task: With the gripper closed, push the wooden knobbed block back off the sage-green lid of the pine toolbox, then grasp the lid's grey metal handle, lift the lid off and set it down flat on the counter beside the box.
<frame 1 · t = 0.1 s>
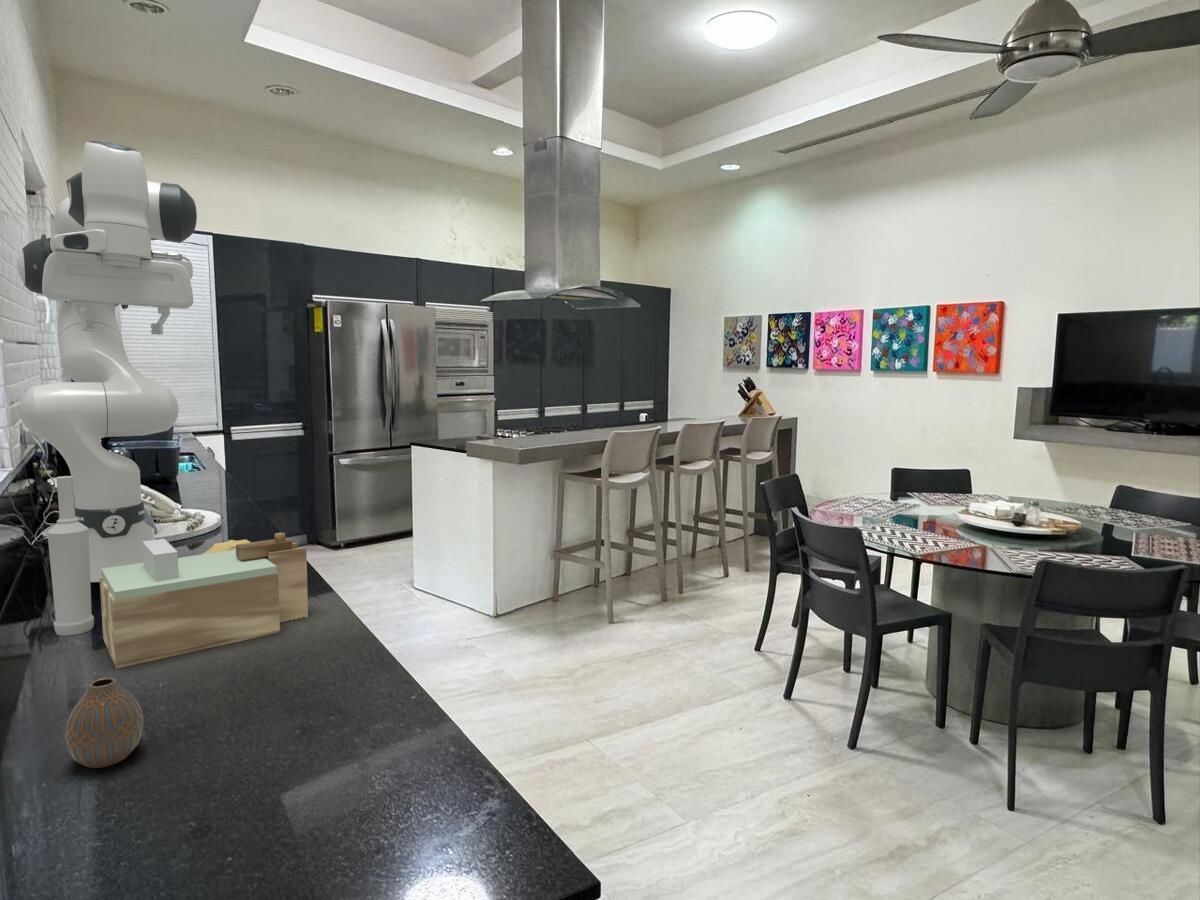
hand: (123, 332, 113), 48 cm above the countertop, fingers open, 8 cm apart
toolbox: (193, 635, 110), on the countertop
lid: (190, 574, 109), point 10 cm above the countertop, touching toolbox
sculpture: (233, 597, 129), on the countertop
vase: (107, 759, 76), on the countertop
wooden knobbed block: (264, 545, 116), point 13 cm above the countertop, slide at 0.0 cm
bottle: (74, 631, 111), on the countertop
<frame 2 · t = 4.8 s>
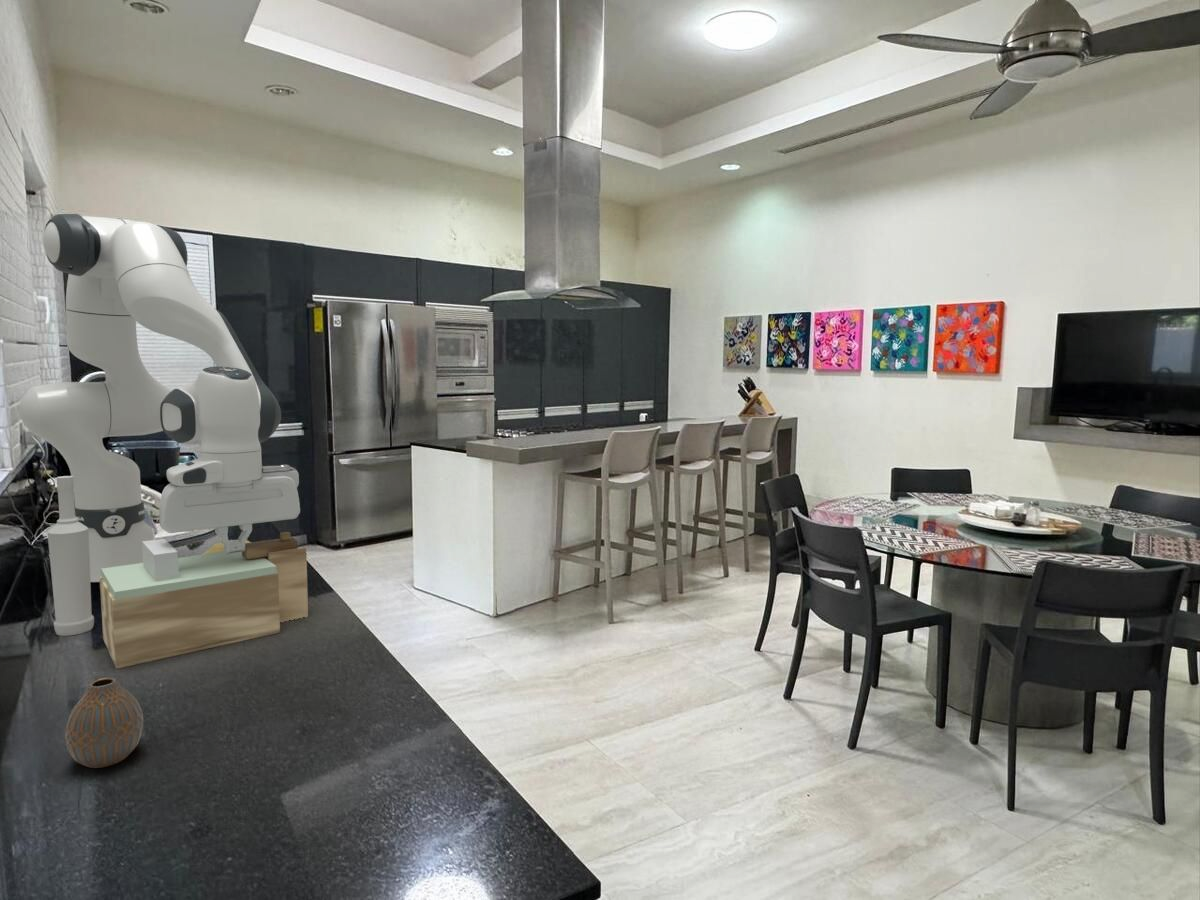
hand: (234, 551, 113), 13 cm above the countertop, fingers closed
wooden knobbed block: (269, 544, 117), point 13 cm above the countertop, slide at 0.9 cm, touching gripper
everything else where it was.
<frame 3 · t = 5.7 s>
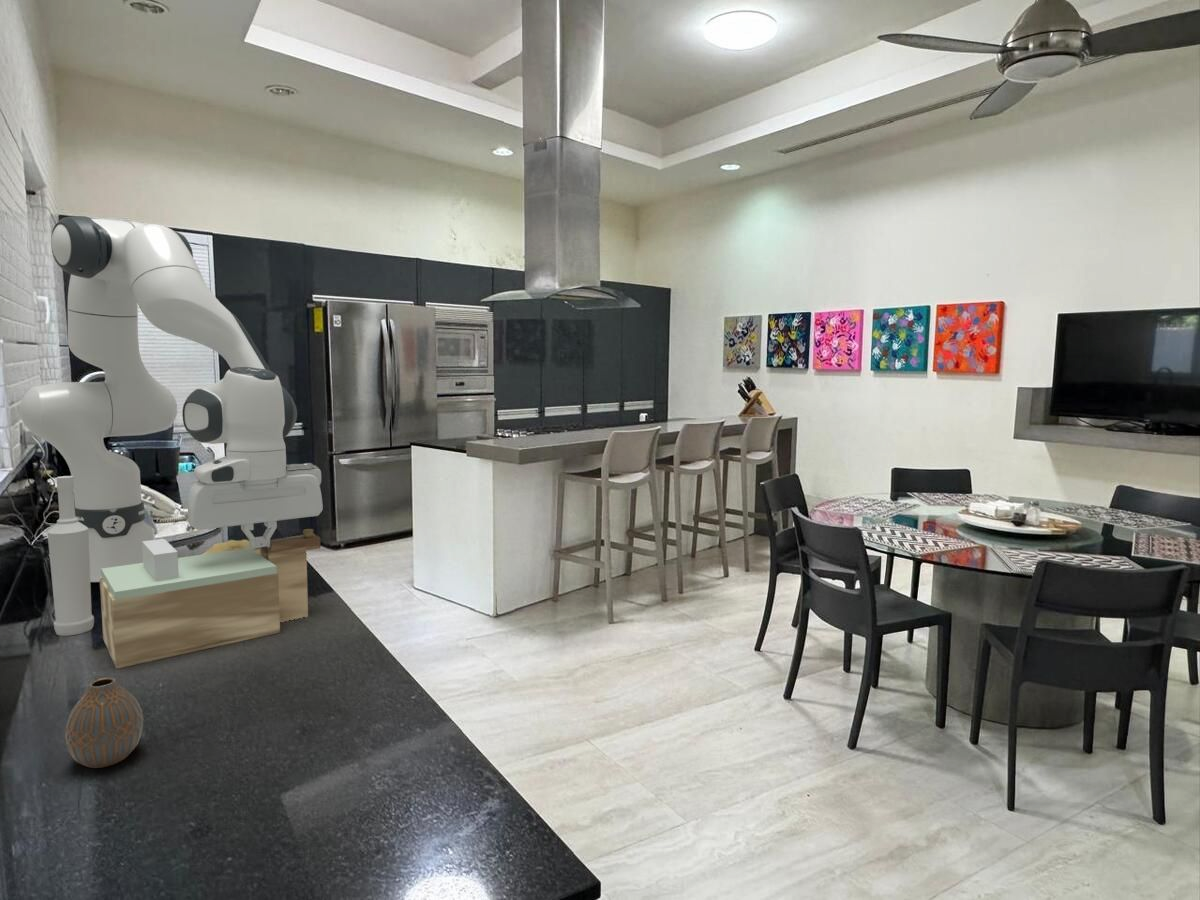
hand: (259, 548, 115), 13 cm above the countertop, fingers closed
wooden knobbed block: (293, 541, 119), point 13 cm above the countertop, slide at 4.7 cm, touching gripper
everything else where it was.
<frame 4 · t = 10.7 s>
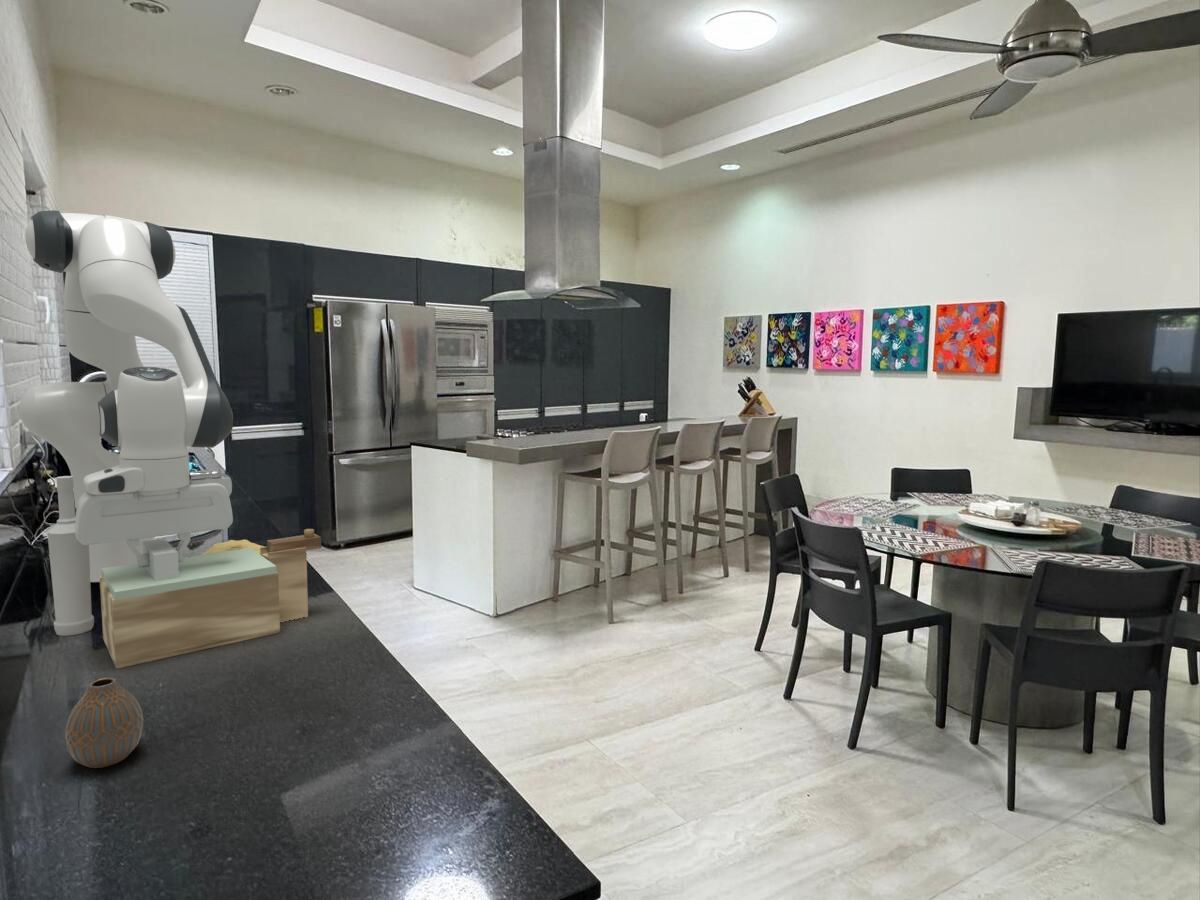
hand: (160, 564, 106), 12 cm above the countertop, fingers closed on lid, 3 cm apart
lid: (190, 574, 109), point 10 cm above the countertop, touching gripper, toolbox
wooden knobbed block: (294, 540, 119), point 13 cm above the countertop, slide at 4.9 cm
everything else where it was.
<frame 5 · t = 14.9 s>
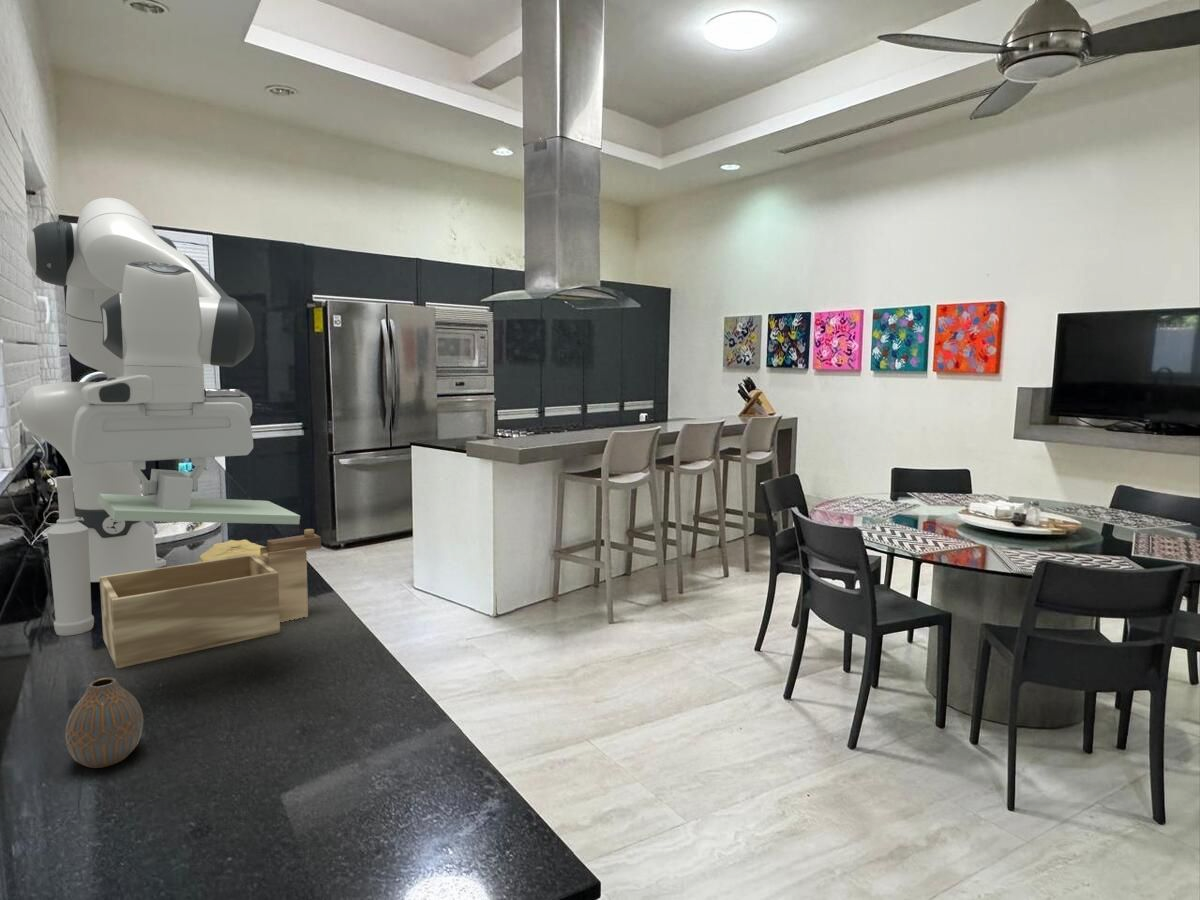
hand: (170, 493, 92), 26 cm above the countertop, fingers closed on lid, 3 cm apart
lid: (200, 513, 94), point 23 cm above the countertop, tilted 9°, touching gripper
everything else where it was.
when the fingers open (4 cm above the countertop, at t = 19.0 s): lid drops 2 cm, on the countertop.
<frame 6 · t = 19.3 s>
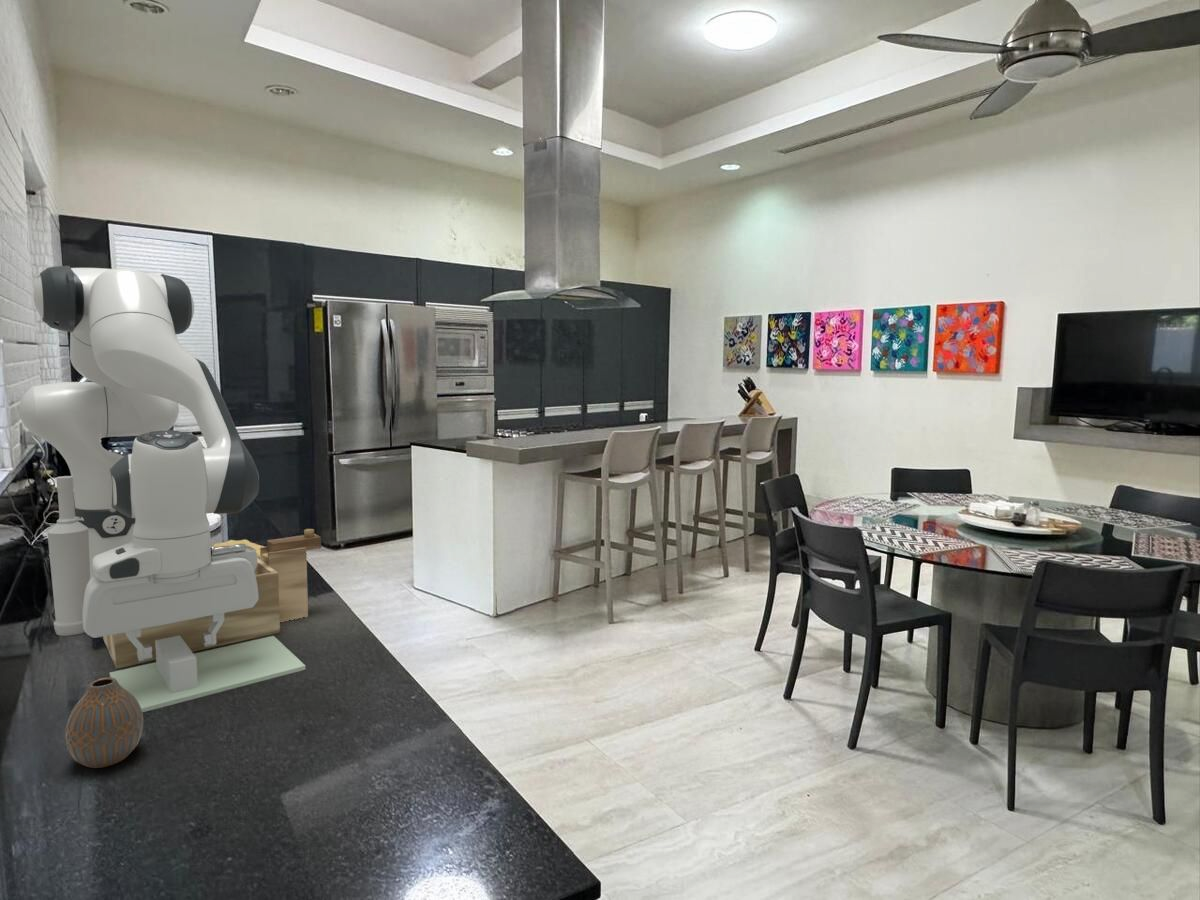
hand: (177, 651, 94), 4 cm above the countertop, fingers open, 6 cm apart
lid: (209, 677, 97), on the countertop
everything else where it was.
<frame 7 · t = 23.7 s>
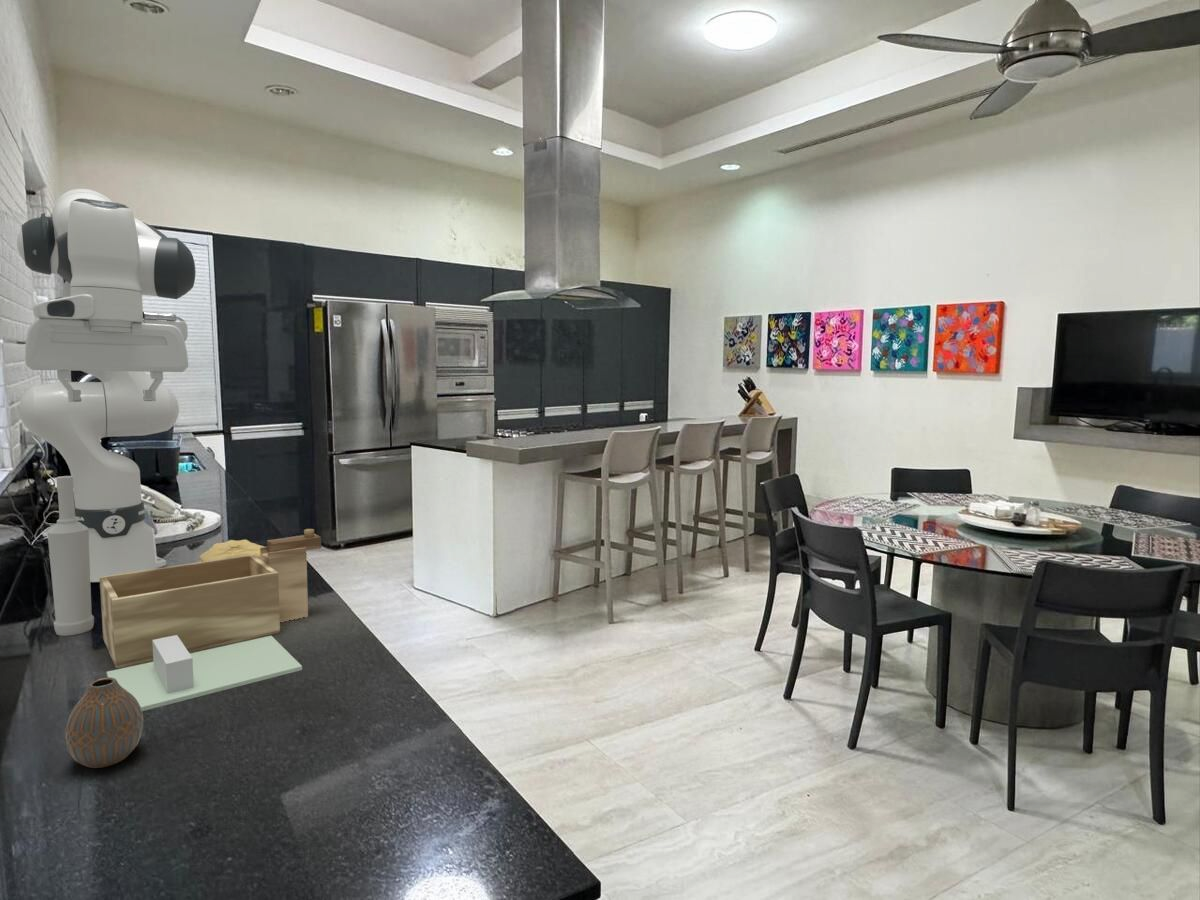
hand: (113, 401, 106), 37 cm above the countertop, fingers open, 8 cm apart
nothing on the countertop moved.
at the end: wooden knobbed block slide at 4.9 cm; lid inside the target area (0.8 cm from its centre), on the countertop; lid tilted 0° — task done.
